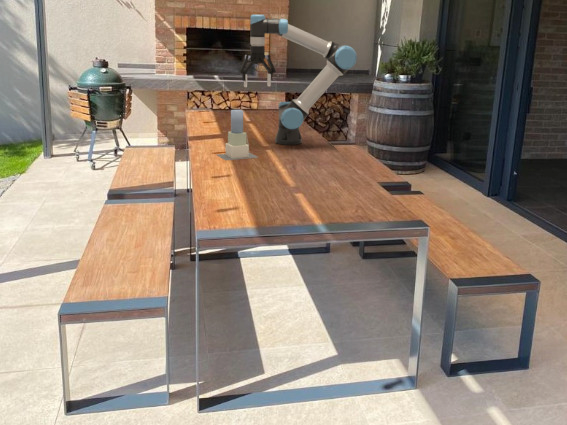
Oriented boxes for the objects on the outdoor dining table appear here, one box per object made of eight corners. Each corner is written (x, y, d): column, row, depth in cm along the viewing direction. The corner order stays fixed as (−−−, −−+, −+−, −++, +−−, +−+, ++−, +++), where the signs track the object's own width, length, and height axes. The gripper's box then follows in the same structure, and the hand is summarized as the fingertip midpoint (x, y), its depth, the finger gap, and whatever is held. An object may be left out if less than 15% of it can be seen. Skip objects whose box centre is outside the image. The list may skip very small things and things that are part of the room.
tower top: (240, 142, 328) (240, 130, 326) (246, 145, 322) (246, 133, 320) (228, 143, 325) (227, 131, 323) (233, 146, 319) (233, 134, 317)
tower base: (242, 153, 331) (242, 142, 329) (248, 157, 324) (248, 145, 322) (225, 154, 328) (225, 143, 326) (232, 158, 320) (231, 146, 318)
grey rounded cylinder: (240, 131, 326) (240, 109, 322) (244, 133, 321) (244, 111, 317) (229, 131, 323) (229, 109, 320) (233, 133, 318) (233, 111, 315)
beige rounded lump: (254, 138, 339) (236, 130, 338) (246, 155, 343) (229, 147, 341) (255, 134, 348) (238, 126, 347) (247, 150, 352) (231, 142, 350)
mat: (248, 153, 336) (248, 151, 335) (259, 159, 324) (258, 157, 323) (215, 156, 328) (215, 154, 328) (225, 162, 316) (225, 160, 316)
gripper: (276, 44, 344) (275, 85, 351) (232, 45, 334) (232, 86, 340) (282, 45, 338) (281, 86, 344) (237, 46, 328) (238, 88, 334)
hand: (257, 86), depth 342 cm, fingers open, 13 cm apart
